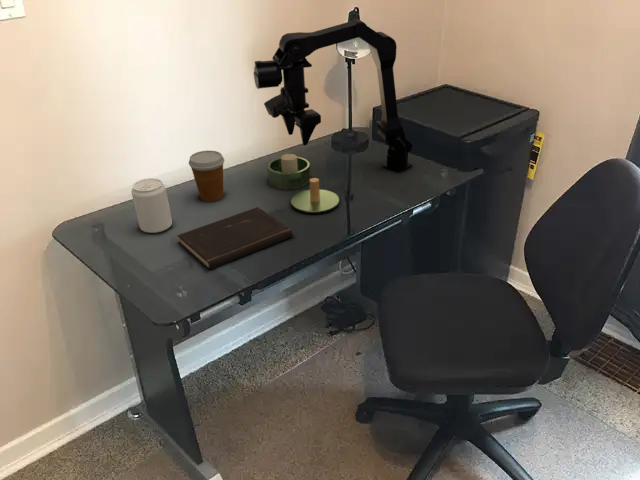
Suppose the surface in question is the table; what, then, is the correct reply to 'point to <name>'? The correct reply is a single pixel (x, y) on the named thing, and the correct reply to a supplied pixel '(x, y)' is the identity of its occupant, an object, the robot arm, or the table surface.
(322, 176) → the table surface
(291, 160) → the candle
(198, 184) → the disposable coffee cup
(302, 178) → the tin
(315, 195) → the lid
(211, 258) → the hardcover book
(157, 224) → the beverage can
